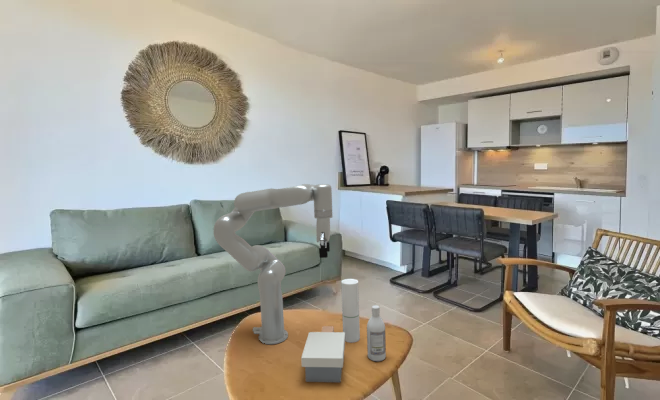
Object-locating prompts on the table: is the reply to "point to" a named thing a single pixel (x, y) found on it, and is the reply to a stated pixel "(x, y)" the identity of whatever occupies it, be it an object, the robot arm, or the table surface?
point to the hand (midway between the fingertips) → (324, 254)
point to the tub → (323, 374)
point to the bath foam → (376, 336)
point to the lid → (324, 348)
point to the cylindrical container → (350, 309)
